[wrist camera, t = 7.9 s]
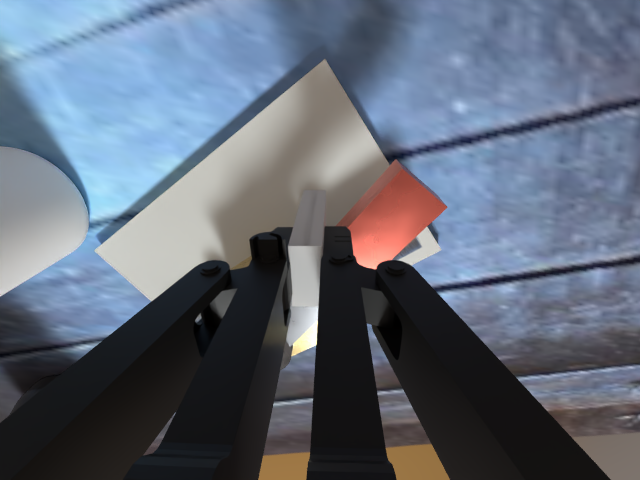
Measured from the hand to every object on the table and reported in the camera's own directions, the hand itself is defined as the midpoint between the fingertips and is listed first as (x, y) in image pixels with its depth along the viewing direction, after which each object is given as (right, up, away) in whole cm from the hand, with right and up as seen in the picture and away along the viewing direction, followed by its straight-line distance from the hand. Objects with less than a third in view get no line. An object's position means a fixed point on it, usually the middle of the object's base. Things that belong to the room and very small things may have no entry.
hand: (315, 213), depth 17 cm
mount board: (-5, -2, +10) cm, 12 cm away
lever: (0, -4, +2) cm, 4 cm away
